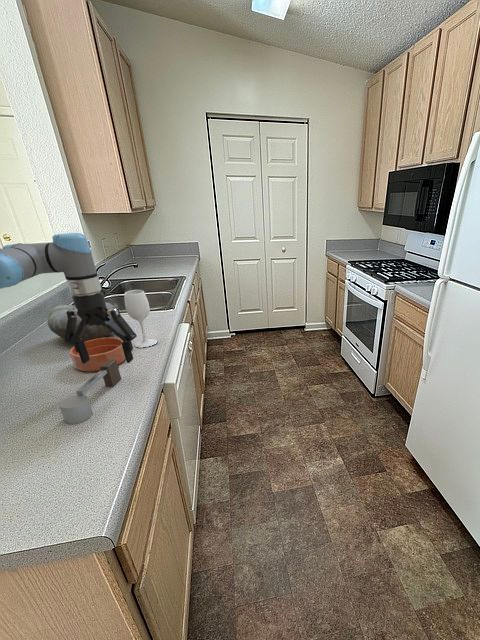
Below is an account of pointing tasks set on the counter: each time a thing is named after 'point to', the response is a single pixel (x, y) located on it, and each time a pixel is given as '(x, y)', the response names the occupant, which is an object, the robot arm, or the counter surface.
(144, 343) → the wineglass
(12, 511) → the counter surface
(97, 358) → the bowl
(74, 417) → the ladle
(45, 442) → the counter surface
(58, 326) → the gourd
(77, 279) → the robot arm
